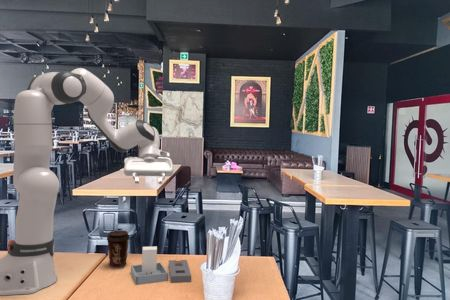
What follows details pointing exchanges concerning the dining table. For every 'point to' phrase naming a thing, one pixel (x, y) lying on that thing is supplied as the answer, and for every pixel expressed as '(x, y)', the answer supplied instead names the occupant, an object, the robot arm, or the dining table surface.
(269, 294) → the dining table surface
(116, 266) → the coffee cup
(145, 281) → the tray
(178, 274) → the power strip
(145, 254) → the charger
